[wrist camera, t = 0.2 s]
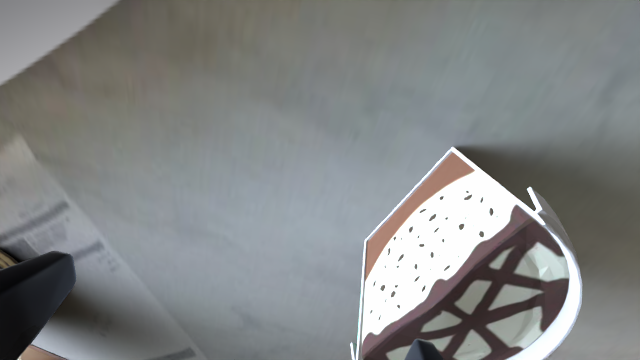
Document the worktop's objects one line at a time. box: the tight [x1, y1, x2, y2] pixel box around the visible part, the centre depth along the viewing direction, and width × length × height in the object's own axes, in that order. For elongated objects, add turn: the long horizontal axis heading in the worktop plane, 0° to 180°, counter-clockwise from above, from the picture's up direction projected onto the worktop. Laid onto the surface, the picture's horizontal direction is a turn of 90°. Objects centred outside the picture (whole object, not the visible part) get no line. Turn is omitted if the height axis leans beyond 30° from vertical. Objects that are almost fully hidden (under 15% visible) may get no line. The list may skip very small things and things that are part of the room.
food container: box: [351, 147, 583, 360], centre depth 19 cm, size 12×6×10 cm, turn 146°
